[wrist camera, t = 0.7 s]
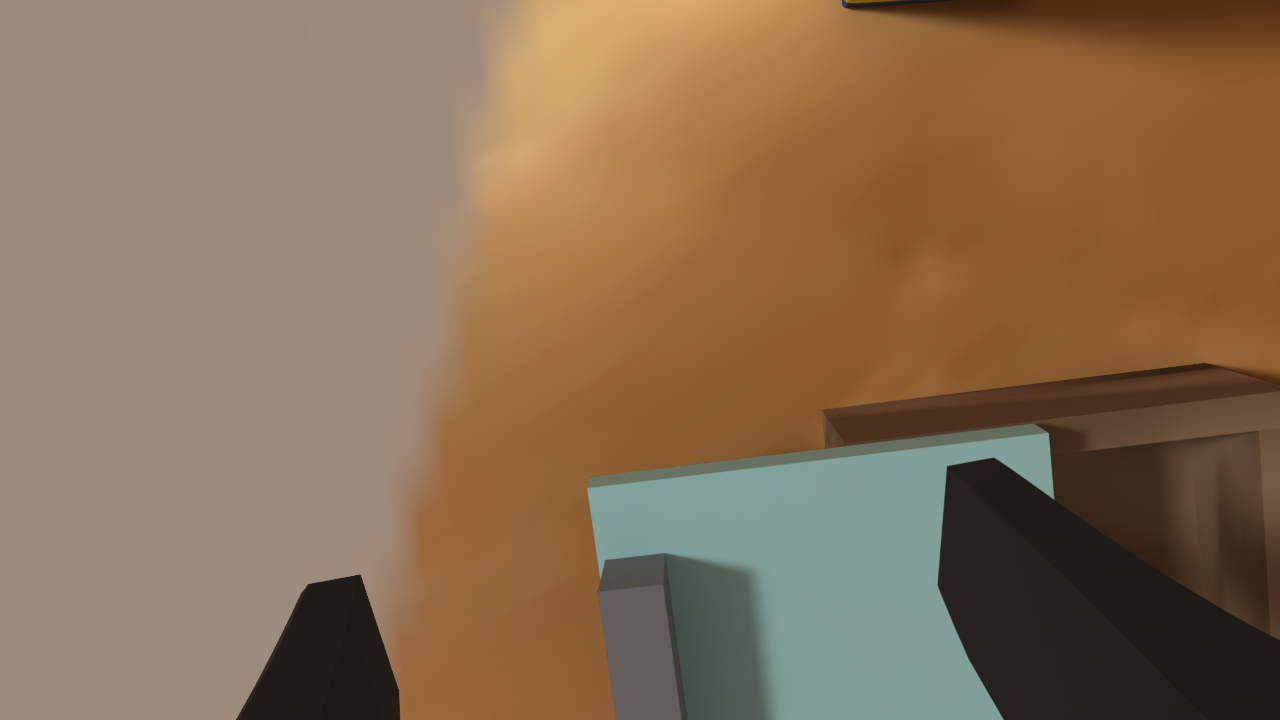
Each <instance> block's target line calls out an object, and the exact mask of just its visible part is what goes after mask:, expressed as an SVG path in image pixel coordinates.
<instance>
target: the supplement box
mask: <svg viewBox="0 0 1280 720" xmlns="http://www.w3.org/2000/svg"><path fill="white" fill-rule="evenodd" d="M936 1H947V0H842V5H843V7H845V8H851V7H874V6H883V5H895V4H909V3H925V2H936Z"/></svg>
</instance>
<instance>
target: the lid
mask: <svg viewBox="0 0 1280 720" xmlns="http://www.w3.org/2000/svg"><path fill="white" fill-rule="evenodd" d="M993 457H994V458H996V459H997V460H999V461H1000V462H1002V463H1003V464H1005V465H1006V466H1008V467H1009V468H1011V469H1012V470H1013V471H1015V472H1016V473H1018V474H1019V475H1021V476H1022V477H1023V478H1025V479H1026V480H1028V481H1029V482H1030V483H1032V484H1033V485H1035V486H1036V487H1037V488H1039V489H1040V490H1042V491H1043V492H1044V493H1046V494H1047V495H1049V496H1050V497H1051V498H1053V499H1054V491H1053V479H1052V467H1051V455H1050V444H1049V433H1048V432H1046V431H1045V430H1043V429H1041V428H1040V427H1038V426H1036V425H1035V424H1027V425H1018V426H1010V427H1002V428H993V429H985V430H977V431H968V432H960V433H952V434H943V435H935V436H927V437H919V438H910V439H902V440H894V441H885V442H877V443H869V444H860V445H852V446H844V447H835V448H827V449H819V450H811V451H802V452H794V453H786V454H777V455H769V456H761V457H752V458H744V459H736V460H727V461H719V462H711V463H703V464H694V465H686V466H678V467H669V468H661V469H653V470H644V471H636V472H628V473H619V474H611V475H603V476H595V477H591V479H590V482H589V485H588V488H587V489H588V496H589V503H590V510H591V517H592V524H593V531H594V538H595V545H596V552H597V559H598V566H599V573H600V585H599V589H598V596H599V603H600V610H601V617H602V624H603V631H604V638H605V645H606V652H607V659H608V666H609V673H610V680H611V687H612V694H613V700H614V707H615V714H616V720H1003V718H1002V716H1001V714H1000V713H999V711H998V709H997V708H996V706H995V704H994V702H993V701H992V699H991V697H990V695H989V694H988V692H987V690H986V689H985V687H984V685H983V683H982V682H981V680H980V678H979V676H978V675H977V673H976V671H975V669H974V668H973V666H972V664H971V662H970V661H969V659H968V657H967V654H966V652H965V650H964V648H963V645H962V643H961V641H960V639H959V636H958V634H957V632H956V629H955V627H954V625H953V622H952V620H951V618H950V615H949V613H948V610H947V608H946V605H945V603H944V601H943V598H942V596H941V593H940V591H939V588H938V586H937V584H938V572H939V559H940V547H941V534H942V521H943V509H944V496H945V484H946V471H947V466H950V465H955V464H961V463H966V462H971V461H977V460H982V459H988V458H993Z"/></svg>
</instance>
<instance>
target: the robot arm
mask: <svg viewBox="0 0 1280 720" xmlns="http://www.w3.org/2000/svg"><path fill="white" fill-rule="evenodd" d="M937 586H938V588H939V591H940V593H941V596H942V598H943V601H944V603H945V605H946V608H947V610H948V613H949V615H950V618H951V620H952V622H953V625H954V627H955V629H956V632H957V634H958V636H959V639H960V641H961V643H962V645H963V648H964V650H965V652H966V654H967V657H968V659H969V661H970V662H971V664H972V666H973V668H974V669H975V671H976V673H977V675H978V676H979V678H980V680H981V682H982V683H983V685H984V687H985V689H986V690H987V692H988V694H989V695H990V697H991V699H992V701H993V702H994V704H995V706H996V708H997V709H998V711H999V713H1000V714H1001V716H1002V718H1003V720H1280V640H1278V639H1277V638H1275V637H1273V636H1271V635H1269V634H1267V633H1265V632H1263V631H1261V630H1259V629H1257V628H1255V627H1254V626H1252V625H1250V624H1248V623H1246V622H1244V621H1243V620H1241V619H1239V618H1237V617H1235V616H1234V615H1232V614H1230V613H1228V612H1227V611H1225V610H1223V609H1221V608H1220V607H1218V606H1216V605H1215V604H1213V603H1211V602H1210V601H1208V600H1206V599H1205V598H1203V597H1201V596H1200V595H1198V594H1196V593H1195V592H1193V591H1191V590H1190V589H1188V588H1186V587H1185V586H1183V585H1181V584H1180V583H1178V582H1176V581H1175V580H1173V579H1171V578H1170V577H1168V576H1167V575H1165V574H1164V573H1162V572H1160V571H1159V570H1157V569H1156V568H1154V567H1153V566H1151V565H1149V564H1148V563H1146V562H1145V561H1143V560H1142V559H1140V558H1139V557H1137V556H1136V555H1134V554H1133V553H1131V552H1129V551H1128V550H1127V549H1125V548H1124V547H1122V546H1121V545H1119V544H1118V543H1116V542H1115V541H1113V540H1112V539H1110V538H1109V537H1107V536H1106V535H1104V534H1103V533H1101V532H1100V531H1098V530H1097V529H1096V528H1094V527H1093V526H1091V525H1090V524H1088V523H1087V522H1085V521H1084V520H1083V519H1081V518H1080V517H1078V516H1077V515H1075V514H1074V513H1073V512H1071V511H1070V510H1068V509H1067V508H1065V507H1064V506H1063V505H1061V504H1060V503H1058V502H1057V501H1056V500H1054V499H1053V498H1051V497H1050V496H1049V495H1047V494H1046V493H1044V492H1043V491H1042V490H1040V489H1039V488H1037V487H1036V486H1035V485H1033V484H1032V483H1030V482H1029V481H1028V480H1026V479H1025V478H1023V477H1022V476H1021V475H1019V474H1018V473H1016V472H1015V471H1013V470H1012V469H1011V468H1009V467H1008V466H1006V465H1005V464H1003V463H1002V462H1000V461H999V460H997V459H996V458H994V457H993V458H988V459H982V460H977V461H971V462H966V463H961V464H955V465H950V466H947V471H946V484H945V496H944V509H943V521H942V534H941V547H940V559H939V572H938V584H937ZM236 720H400V705H399V689H398V686H397V683H396V680H395V677H394V674H393V671H392V668H391V665H390V662H389V659H388V656H387V653H386V650H385V647H384V644H383V641H382V638H381V635H380V632H379V629H378V626H377V623H376V620H375V617H374V614H373V611H372V608H371V605H370V602H369V599H368V596H367V593H366V590H365V587H364V584H363V581H362V578H361V575H355V576H350V577H345V578H339V579H334V580H329V581H323V582H318V583H312V584H308V586H307V587H306V588H305V589H304V591H303V592H302V593H301V595H300V597H299V599H298V602H297V603H296V605H295V608H294V610H293V612H292V614H291V616H290V618H289V620H288V622H287V624H286V626H285V628H284V631H283V632H282V635H281V637H280V639H279V641H278V643H277V645H276V646H275V648H274V651H273V653H272V654H271V656H270V658H269V660H268V662H267V664H266V666H265V668H264V670H263V672H262V674H261V676H260V678H259V679H258V681H257V683H256V685H255V687H254V689H253V690H252V692H251V694H250V696H249V698H248V699H247V701H246V703H245V705H244V707H243V709H242V710H241V712H240V714H239V716H238V717H237V719H236Z"/></svg>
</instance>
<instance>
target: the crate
mask: <svg viewBox="0 0 1280 720" xmlns="http://www.w3.org/2000/svg"><path fill="white" fill-rule="evenodd" d="M822 418H823V427H824V436H825V444H826V449H827V448H835V447H844V446H852V445H860V444H869V443H877V442H885V441H894V440H902V439H910V438H919V437H927V436H935V435H943V434H952V433H960V432H968V431H977V430H985V429H993V428H1002V427H1010V426H1018V425H1027V424H1035V425H1036V426H1038V427H1040V428H1041V429H1043V430H1045V431H1046V432H1048V433H1049V444H1050V455H1051V467H1052V479H1053V491H1054V500H1056V501H1057V502H1058V503H1060V504H1061V505H1063V506H1064V507H1065V508H1067V509H1068V510H1070V511H1071V512H1073V513H1074V514H1075V515H1077V516H1078V517H1080V518H1081V519H1083V520H1084V521H1085V522H1087V523H1088V524H1090V525H1091V526H1093V527H1094V528H1096V529H1097V530H1098V531H1100V532H1101V533H1103V534H1104V535H1106V536H1107V537H1109V538H1110V539H1112V540H1113V541H1115V542H1116V543H1118V544H1119V545H1121V546H1122V547H1124V548H1125V549H1127V550H1128V551H1129V552H1131V553H1133V554H1134V555H1136V556H1137V557H1139V558H1140V559H1142V560H1143V561H1145V562H1146V563H1148V564H1149V565H1151V566H1153V567H1154V568H1156V569H1157V570H1159V571H1160V572H1162V573H1164V574H1165V575H1167V576H1168V577H1170V578H1171V579H1173V580H1175V581H1176V582H1178V583H1180V584H1181V585H1183V586H1185V587H1186V588H1188V589H1190V590H1191V591H1193V592H1195V593H1196V594H1198V595H1200V596H1201V597H1203V598H1205V599H1206V600H1208V601H1210V602H1211V603H1213V604H1215V605H1216V606H1218V607H1220V608H1221V609H1223V610H1225V611H1227V612H1228V613H1230V614H1232V615H1234V616H1235V617H1237V618H1239V619H1241V620H1243V621H1244V622H1246V623H1248V624H1250V625H1252V626H1254V627H1255V628H1257V629H1259V630H1261V631H1263V632H1265V633H1267V634H1269V635H1271V636H1273V637H1275V638H1277V639H1278V640H1280V385H1278V384H1275V383H1271V382H1268V381H1264V380H1261V379H1257V378H1254V377H1250V376H1247V375H1244V374H1240V373H1237V372H1233V371H1230V370H1226V369H1223V368H1219V367H1216V366H1213V365H1209V364H1206V363H1202V364H1193V365H1185V366H1177V367H1169V368H1161V369H1153V370H1144V371H1136V372H1128V373H1120V374H1112V375H1104V376H1095V377H1087V378H1079V379H1071V380H1063V381H1055V382H1047V383H1038V384H1030V385H1022V386H1014V387H1006V388H998V389H989V390H981V391H973V392H965V393H957V394H949V395H940V396H932V397H924V398H916V399H908V400H900V401H892V402H883V403H875V404H867V405H859V406H851V407H843V408H834V409H826V410H822Z"/></svg>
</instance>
